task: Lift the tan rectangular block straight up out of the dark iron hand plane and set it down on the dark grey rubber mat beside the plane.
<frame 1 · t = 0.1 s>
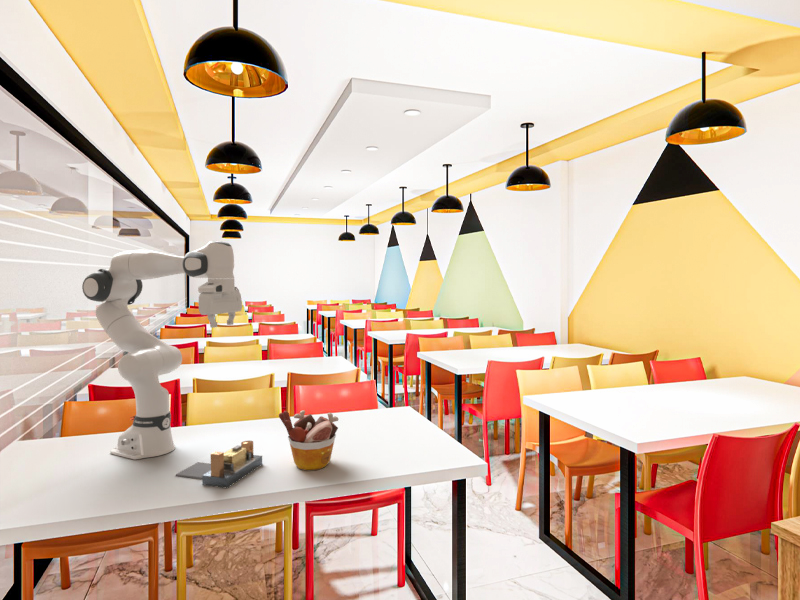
hand: (222, 326, 174), 48 cm above the table, tool pointing down, fingers open, 8 cm apart
fried chicken: (310, 465, 170), on the table
mat: (201, 471, 165), on the table
hand plane: (233, 474, 163), on the table
tan rectangular block: (233, 463, 162), point 4 cm above the table, touching hand plane
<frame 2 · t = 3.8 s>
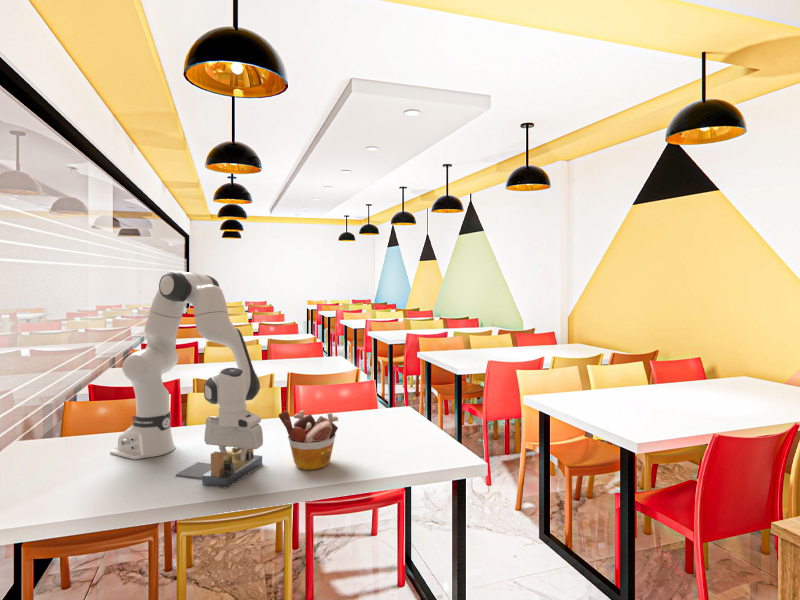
hand: (233, 459, 162), 5 cm above the table, tool pointing down, fingers closed on tan rectangular block, 4 cm apart
tan rectangular block: (233, 463, 162), point 4 cm above the table, touching gripper, hand plane
everything else where it was.
when the fingers open (4 cm above the table, at t = 10.5 s): tan rectangular block drops 2 cm, resting on mat.
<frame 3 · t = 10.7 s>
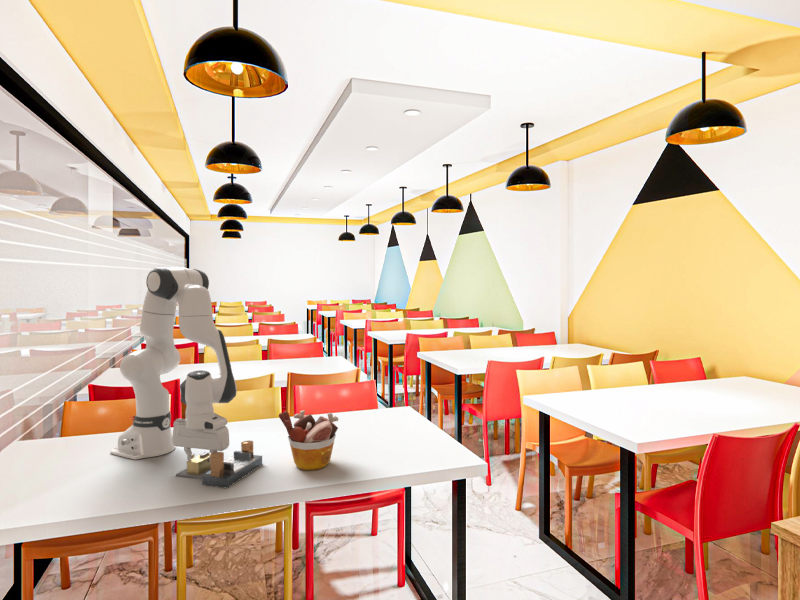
hand: (200, 460, 165), 4 cm above the table, tool pointing down, fingers open, 6 cm apart
tan rectangular block: (200, 469, 165), point 1 cm above the table, touching mat
everything else where it was.
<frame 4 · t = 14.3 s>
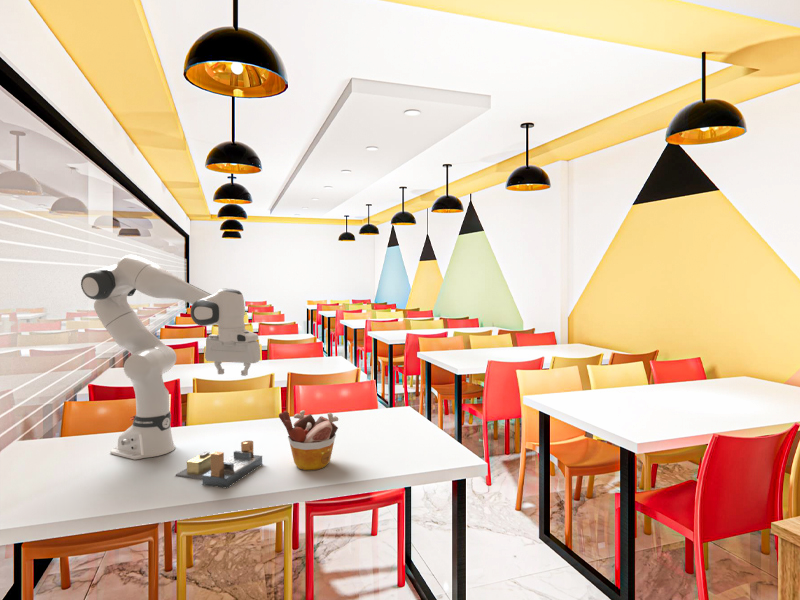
hand: (232, 374, 171), 31 cm above the table, tool pointing down, fingers open, 8 cm apart
nothing on the table moved.
at the end: tan rectangular block inside the target area on the mat (0.0 cm from its centre), point 0.6 cm above the mat's base; tan rectangular block tilted 0°; the gripper is holding nothing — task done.
